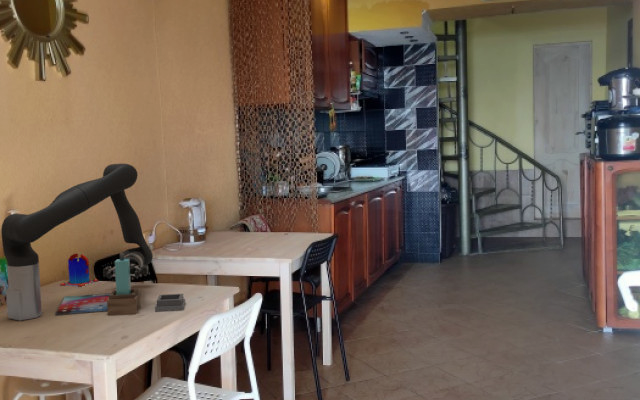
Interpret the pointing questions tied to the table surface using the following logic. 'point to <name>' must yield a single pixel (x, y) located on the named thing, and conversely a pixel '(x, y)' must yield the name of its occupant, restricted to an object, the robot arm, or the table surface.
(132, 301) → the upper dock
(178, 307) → the lower dock
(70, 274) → the fantasy tower
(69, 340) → the table surface
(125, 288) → the plug block
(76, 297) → the tablet
